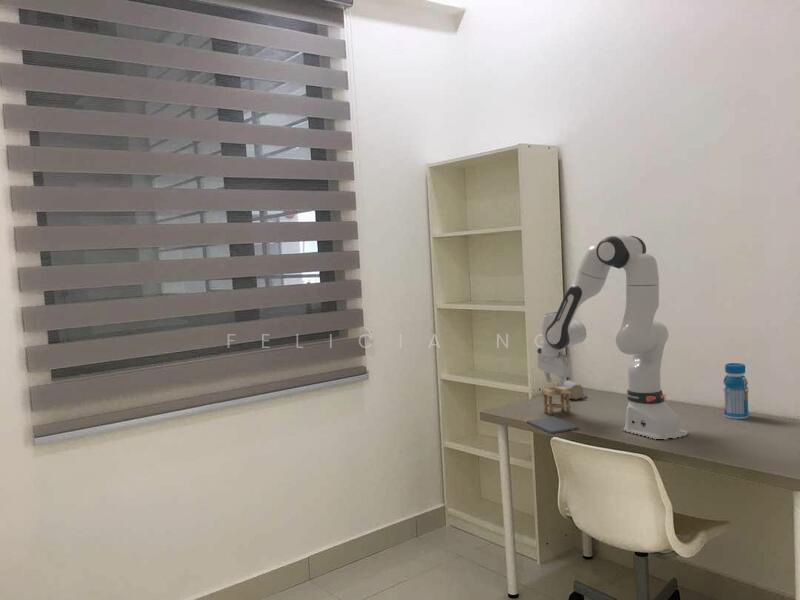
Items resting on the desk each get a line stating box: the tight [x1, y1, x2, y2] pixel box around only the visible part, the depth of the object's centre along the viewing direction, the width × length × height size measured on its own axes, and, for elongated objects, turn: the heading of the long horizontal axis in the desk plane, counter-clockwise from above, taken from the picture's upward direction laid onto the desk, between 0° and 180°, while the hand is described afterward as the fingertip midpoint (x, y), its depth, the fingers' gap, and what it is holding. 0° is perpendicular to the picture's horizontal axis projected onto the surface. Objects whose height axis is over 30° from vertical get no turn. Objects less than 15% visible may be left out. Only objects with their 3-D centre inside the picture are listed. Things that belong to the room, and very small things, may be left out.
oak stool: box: [541, 386, 571, 417], centre depth 265 cm, size 10×6×10 cm, turn 108°
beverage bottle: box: [722, 362, 750, 420], centre depth 243 cm, size 8×8×20 cm
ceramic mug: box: [563, 379, 587, 401], centre depth 289 cm, size 11×8×8 cm
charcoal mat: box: [526, 416, 580, 435], centre depth 246 cm, size 18×12×1 cm, turn 18°
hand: (554, 384), depth 265 cm, fingers open, 8 cm apart
